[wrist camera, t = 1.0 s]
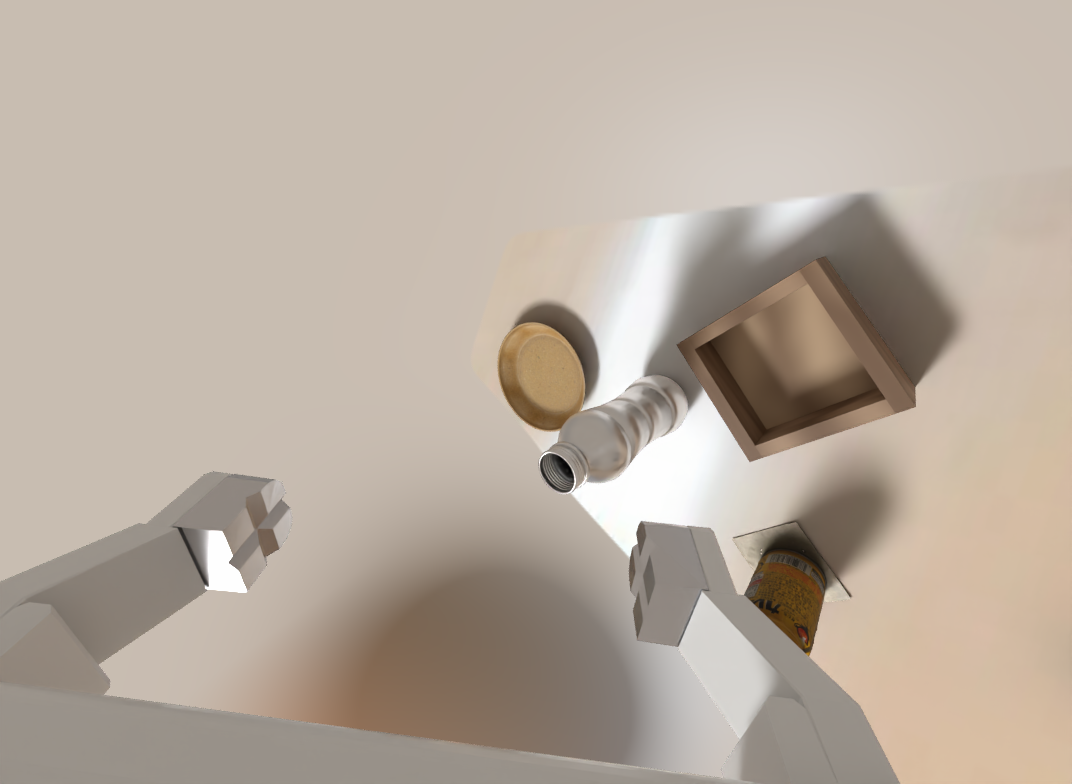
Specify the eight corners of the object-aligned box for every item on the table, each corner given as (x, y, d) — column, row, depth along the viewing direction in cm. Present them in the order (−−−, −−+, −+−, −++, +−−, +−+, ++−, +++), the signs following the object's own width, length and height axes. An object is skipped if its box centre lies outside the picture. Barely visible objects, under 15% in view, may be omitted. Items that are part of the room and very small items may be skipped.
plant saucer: (495, 371, 64) (482, 375, 62) (539, 295, 55) (526, 297, 53) (558, 445, 60) (547, 452, 58) (617, 377, 51) (606, 382, 49)
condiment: (779, 607, 46) (749, 696, 37) (732, 538, 47) (692, 608, 38) (851, 597, 41) (836, 697, 32) (796, 520, 42) (767, 596, 33)
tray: (825, 256, 35) (815, 259, 31) (915, 387, 33) (915, 406, 30) (696, 335, 43) (676, 344, 40) (763, 441, 42) (749, 462, 38)
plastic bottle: (676, 437, 48) (575, 528, 33) (628, 403, 51) (515, 473, 36) (706, 392, 44) (606, 473, 30) (651, 358, 47) (537, 416, 33)
